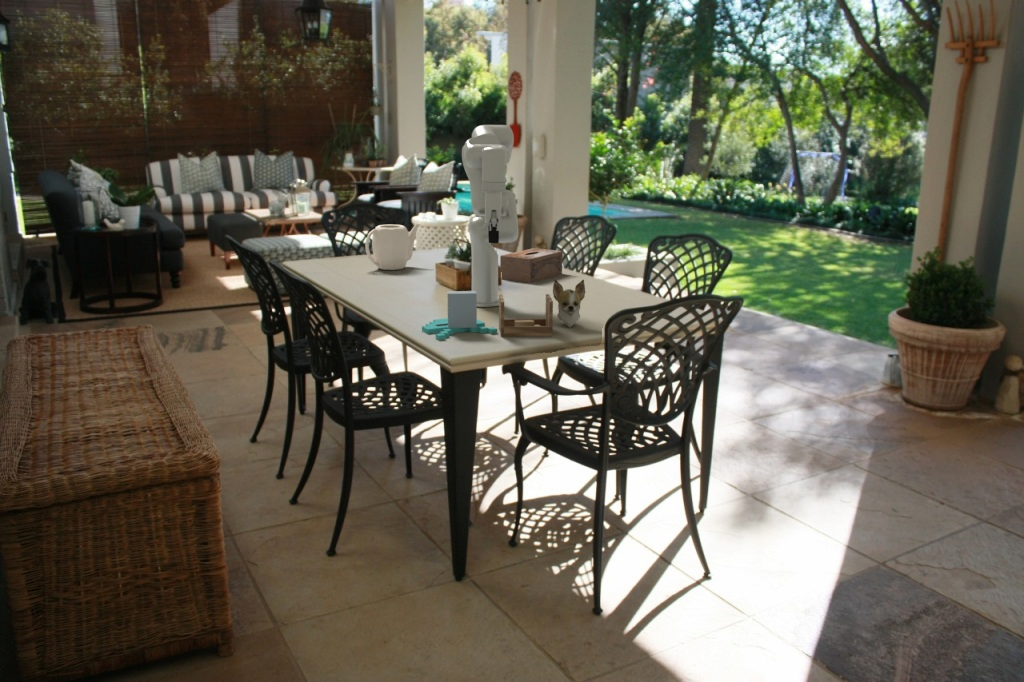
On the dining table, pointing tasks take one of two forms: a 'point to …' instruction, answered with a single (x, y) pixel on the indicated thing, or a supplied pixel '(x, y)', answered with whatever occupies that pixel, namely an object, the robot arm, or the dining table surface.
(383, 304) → the dining table surface
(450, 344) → the dining table surface
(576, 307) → the ceramic sculpture
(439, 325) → the alien figure
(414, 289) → the dining table surface
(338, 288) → the dining table surface
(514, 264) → the tissue box cover
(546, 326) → the rack
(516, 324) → the offcut top
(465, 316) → the board
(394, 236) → the white teapot
